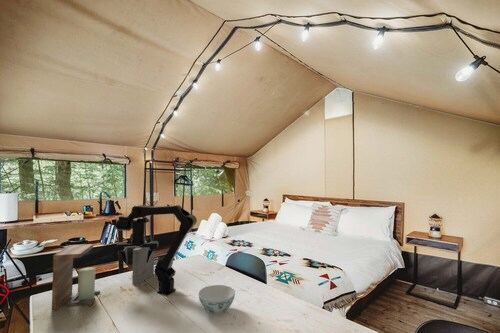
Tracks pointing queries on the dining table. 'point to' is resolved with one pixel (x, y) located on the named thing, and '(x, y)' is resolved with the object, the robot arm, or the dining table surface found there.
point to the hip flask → (142, 264)
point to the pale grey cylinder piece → (86, 284)
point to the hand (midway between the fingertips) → (136, 263)
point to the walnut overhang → (67, 275)
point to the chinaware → (216, 298)
